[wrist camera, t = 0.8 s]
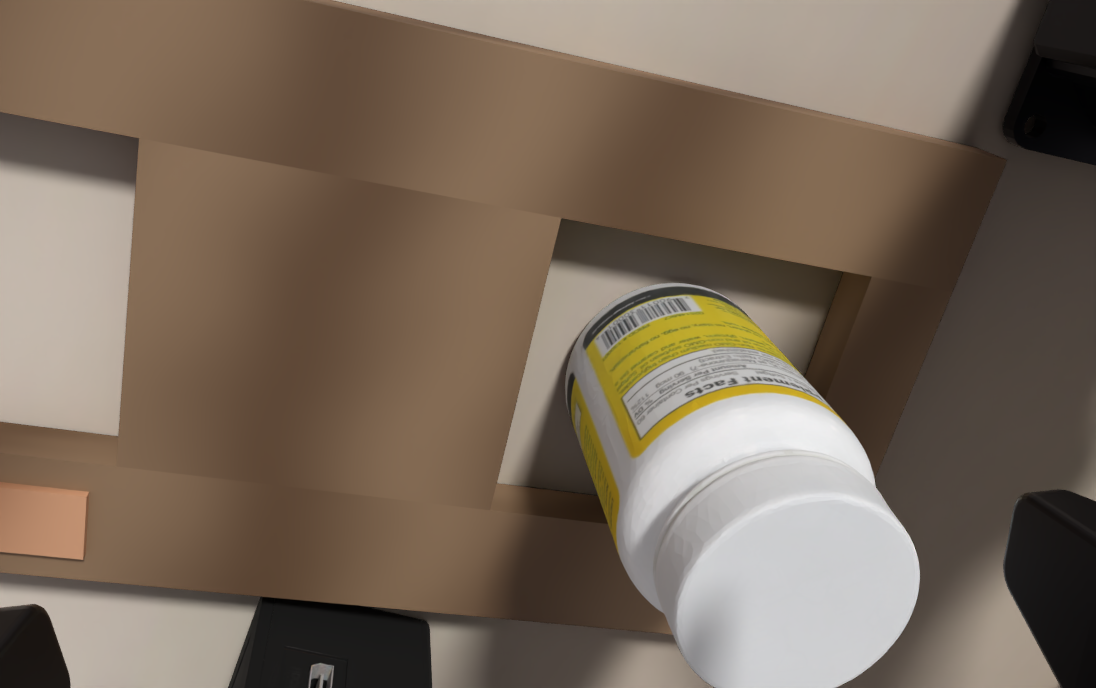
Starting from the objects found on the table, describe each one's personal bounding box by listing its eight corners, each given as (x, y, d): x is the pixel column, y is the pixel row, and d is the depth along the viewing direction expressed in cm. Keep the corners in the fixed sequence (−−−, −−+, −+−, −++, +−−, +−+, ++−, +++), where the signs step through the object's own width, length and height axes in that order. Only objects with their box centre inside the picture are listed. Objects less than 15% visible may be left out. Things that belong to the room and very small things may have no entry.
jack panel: (976, 147, 21) (1012, 162, 20) (787, 615, 26) (808, 652, 24) (-421, -172, 15) (-495, -181, 14) (-329, 504, 20) (-377, 544, 19)
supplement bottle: (701, 483, 24) (843, 751, 16) (529, 426, 22) (595, 690, 15) (796, 317, 22) (1003, 525, 14) (617, 245, 21) (742, 434, 13)
